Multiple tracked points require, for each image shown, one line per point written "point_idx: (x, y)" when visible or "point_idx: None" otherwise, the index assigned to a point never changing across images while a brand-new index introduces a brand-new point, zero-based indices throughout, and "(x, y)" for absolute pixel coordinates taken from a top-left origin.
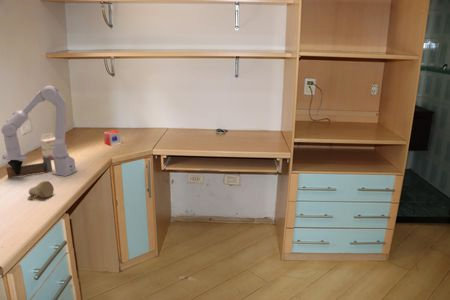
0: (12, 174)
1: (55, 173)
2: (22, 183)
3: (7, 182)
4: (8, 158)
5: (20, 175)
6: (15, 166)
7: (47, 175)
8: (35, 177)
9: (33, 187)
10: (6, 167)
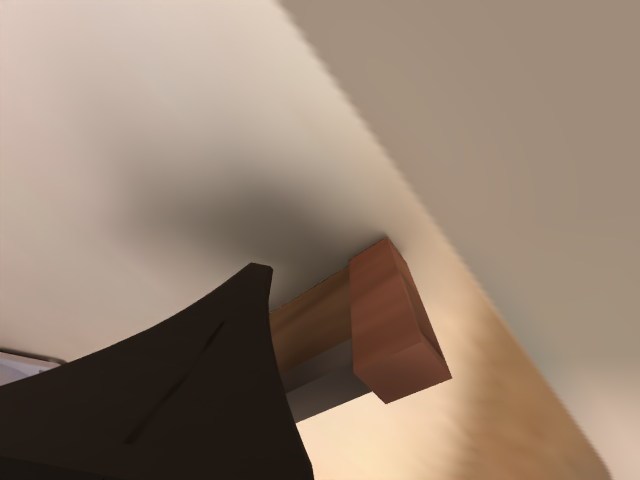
0: (346, 287)
1: (16, 366)
2: (79, 109)
3: (308, 114)
4: None
5: (286, 307)
6: (109, 355)
7: (73, 340)
8: (126, 293)
9: None
10: (443, 371)
